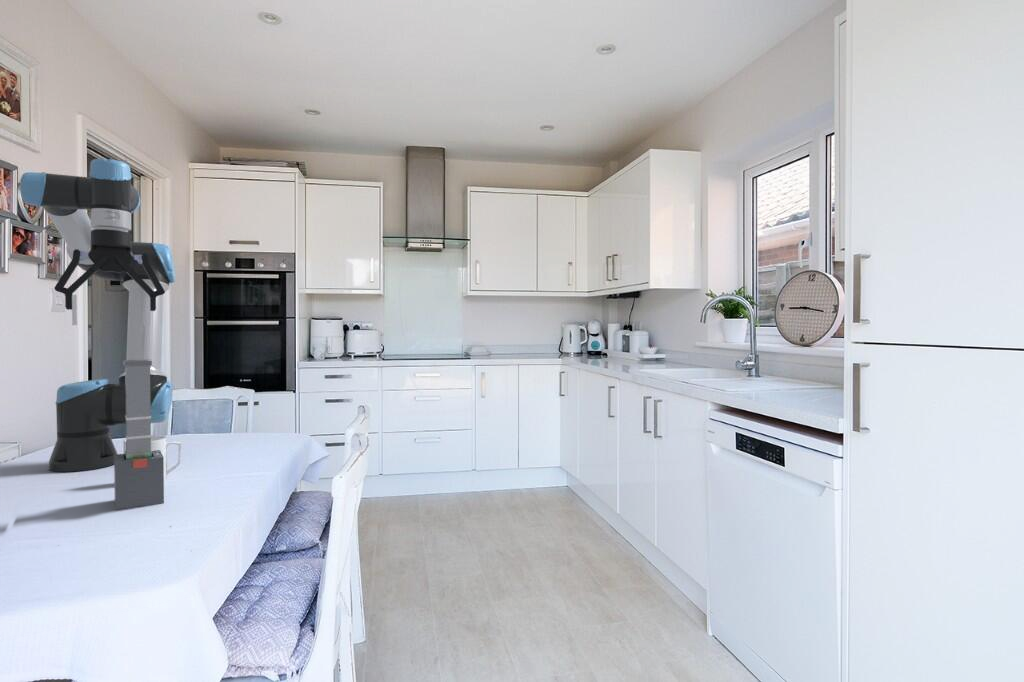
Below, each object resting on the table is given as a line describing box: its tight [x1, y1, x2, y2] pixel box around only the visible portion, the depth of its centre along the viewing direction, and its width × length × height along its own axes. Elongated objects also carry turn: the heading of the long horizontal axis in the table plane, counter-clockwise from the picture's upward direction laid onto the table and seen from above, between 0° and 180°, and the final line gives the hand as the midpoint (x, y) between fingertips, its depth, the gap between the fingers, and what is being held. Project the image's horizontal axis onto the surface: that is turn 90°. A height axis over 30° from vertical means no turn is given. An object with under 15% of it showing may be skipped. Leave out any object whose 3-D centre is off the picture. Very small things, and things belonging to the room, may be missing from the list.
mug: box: [123, 434, 182, 480], centre depth 141 cm, size 12×9×11 cm
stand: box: [113, 450, 165, 512], centre depth 122 cm, size 12×16×11 cm
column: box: [122, 359, 152, 460], centre depth 122 cm, size 5×5×22 cm
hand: (112, 325), depth 130 cm, fingers open, 13 cm apart
